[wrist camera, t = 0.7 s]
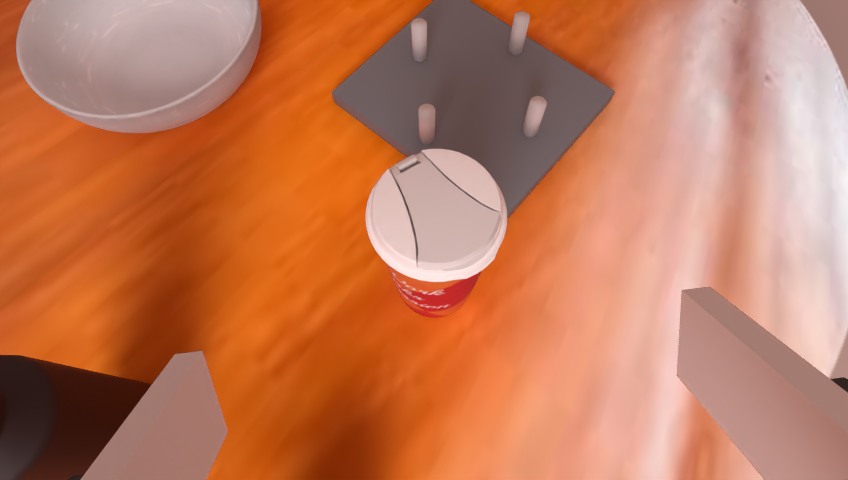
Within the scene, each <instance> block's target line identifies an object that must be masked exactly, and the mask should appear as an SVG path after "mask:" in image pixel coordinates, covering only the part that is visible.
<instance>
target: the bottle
mask: <svg viewBox="0 0 848 480" xmlns="http://www.w3.org/2000/svg"><path fill="white" fill-rule="evenodd" d="M151 385H152V384H148V383H143V382H139V381H134V380H130V379H125V378H121V377H116V376H111V375H107V374H102V373H98V372H93V371H89V370H84V369H80V368H75V367H71V366H66V365H62V364H57V363H52V362H48V361H43V360H39V359H34V358H30V357H25V356H20V355H0V480H68V479H69V478H70V477H71V476H72V475H80V474H85V473H86V472H87V470H88V469H89V468H90V466H91V465H92V464H93V462H94V461H95V460H96V458H97V457H98V456H99V454H100V453H101V452H102V450H103V449H104V448H105V446H106V445H107V444H108V442H109V441H110V440H111V438H112V437H113V436H114V434H115V433H116V432H117V430H118V429H119V428H120V426H121V425H122V424H123V422H124V421H125V420H126V418H127V417H128V416H129V414H130V413H131V412H132V410H133V409H134V408H135V406H136V405H137V404H138V402H139V401H140V400H141V398H142V397H143V396H144V394H145V393H146V392H147V390H148V389H149V388H150V386H151Z"/></svg>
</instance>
